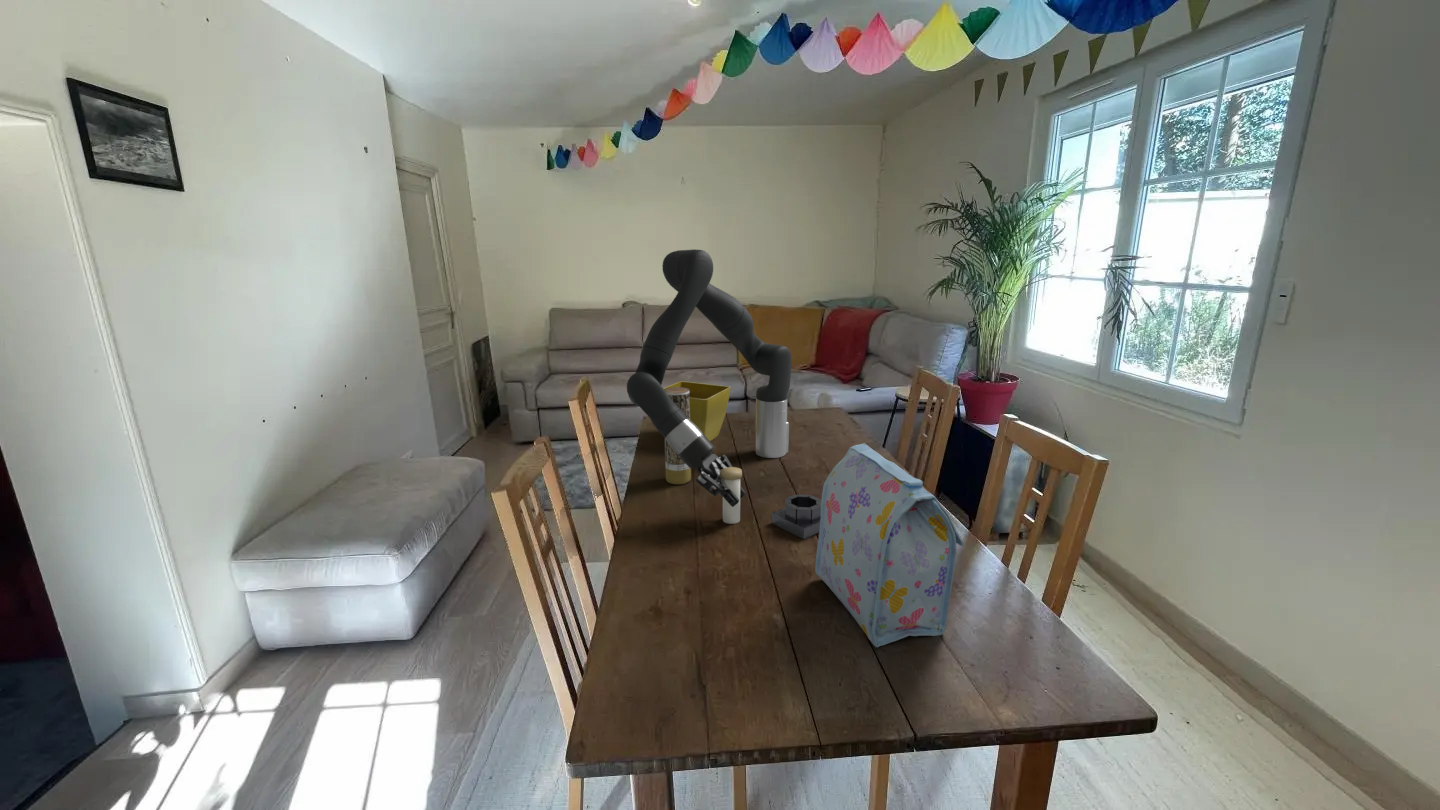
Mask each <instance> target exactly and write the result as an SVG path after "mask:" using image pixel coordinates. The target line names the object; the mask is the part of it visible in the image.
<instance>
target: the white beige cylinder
mask: <svg viewBox="0 0 1440 810" xmlns="http://www.w3.org/2000/svg"><path fill="white" fill-rule="evenodd" d="M721 475H722V477H723V479H724V482H725V484H726V485H727V487H728V489H730V490H731V491H732V492H733V493H734V494H735V496H736V497H737V498H738V499H739V502H738V503H737V504H736V505H735V506H734V507H732V506H731V505H730V504H729V503H728V502H727V501H726V500H725V498H724V497H723V496H722V521H723V523H725V524H729V525H730V524H731V525H733V524H738V523H740V521H741V499H740V486H741V479H742V477H743V469H742V468H740V467H736V466H733V467H727V468H723V469H722V470H721Z"/></svg>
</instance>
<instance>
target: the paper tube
mask: <svg viewBox="0 0 1440 810" xmlns="http://www.w3.org/2000/svg"><path fill="white" fill-rule="evenodd" d="M664 390H665V391H666V393H667V394H668V396H669V397H670V399H671V400H672V401H673V402H674V403H675V404H676V405H677V406H678V407H679V408H680V410H681V411H682V412H683V413H684V414H685V415H686V416H687V417H688V419H689V420H690V392H689V389H688V388H683V387H672V388H666V389H664ZM664 460H665V461H664V463H665V464H664V465H665V466H664V467H665V480H666V482H667V483H669V484H671V485H685V484H688V483H689V482H690V481H691V480H692V469H691V468H689V467H688V466H687V465H686V463H685V462H684V461H683V460H682V459H681V458H680V457H679V455H678V454H677V453H676V452H675V451H674V450H673V449H672V447H671V446H670V445H669V443H668V442H667V440H666V439H665V438H664Z"/></svg>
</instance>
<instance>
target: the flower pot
mask: <svg viewBox="0 0 1440 810" xmlns="http://www.w3.org/2000/svg"><path fill="white" fill-rule="evenodd" d="M672 387H683V388H688V389H689V392H690V421H692V422H693V423H694V424H695V425H696V426H697V427H698V428H699V429H700V430H701V432H702V433H703V434H704V435H705V436H706V437H707V438H708V440H709V441H710V442H711V441H713V440H714V439H716V438H717V437H718V436H719V434H720V432H721V428H722V427H723V422H724V420H725V417H726V413H727V409H728V405H729V401H730V394H731V390H732V388H731V386H728V385H727V386H726V385H720V384H719V385H718V384H712V383H702V382H693V381H685V380H684V381H683V380H682V381H677V382H676V383H672V384H670V385H667V386H666V387H663V389H666V388H672Z"/></svg>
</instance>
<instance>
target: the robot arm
mask: <svg viewBox="0 0 1440 810" xmlns="http://www.w3.org/2000/svg"><path fill="white" fill-rule="evenodd" d="M662 273H663V276H664V279H665V280H666V282H667V283H668V284H669V286H671V288H673V289H674V290H675V291H677V293H676V295H675V297H674V298H673V300H672V301H671V302H670V304H669V305H668V306H667V307H666V309H665V310H664V311H663V312H662V313H661V314H660V315H659V316H658V318H656V320H655V321H654V323H653V324H652V326H651V328H650V330H649V332H648V334H647V336H646V338H645V339H646V340H645V341H644V344H643V346H642V349H641V352H640V357H639V363H638V366H637V367H636V371H635V373H633V374H632V375H631V376H630V377H629V378H628V380H627V382H626V392H627V395H628V398H629V400H630V402H631V403H632V404H634V405H635V406H637V407H639V409H640V410H642V412H644V413H645V414H646V415H647V417H648V418H649V419H650V421H651V423H652V425H653V427H654V428H656V430H657V431H658V432H659V433H660V434H661V436H663V438H664V440H665V439H666V440H667V442H668V443H669V445H670V446H671V447H672V449H673V450H674V451H675V452H676V453H677V454H678V455H679V457H680V458H681V459H682V460H683V461H684V462H685V463H686V465H687V466H688V467H689V468H691V470H692V469H694V468H695V469H696V470H697V472H698V474H699V475H698V477H697V478H695V481H696V482H697V484H699V485H700V486H702V487H703V488H704V489H705V490H706V491H707V492H709V493H710V494H711V495H713V497H716V496H718V495H719V496H722V498H723V497H724V498H725V500H726V501H727V502H728V503H729V504H730V505H731V506H732V507H734V506H735V505H736V504H737V503H738V502H739V499H738V498H737V497H736V496H735V494H734V493H733V492H732V491H731V490H730V489H728V487H727V485H726V484H725V482H724V479H723V477H722V475H721V470H722V469H723V468H727V467H734V466H733V465H732V463H731V462H730V460H729V458H728V457H727V456H726V455H725V454H723V455H720V456H718V455H717V454H715V453H714V452H713V451H714V450H715V447H716V446H715V445H714V444H713V443H712V442H711V441H709V440H708V438H707V437H706V436H705V435H704V434H703V433H702V432H701V430H700V429H699V428H698V427H697V426H696V425H695V424H694V423H693V422H692V421H690V420H689V419H688V417H687V416H686V415H685V414H684V413H683V412H682V411H681V410H680V408H679V407H678V406H677V405H676V404H675V403H674V402H673V401H672V400H671V399H670V397H669V396H668V394H667V393H666V391H665V390H664V389H663V388H664V387H663V386H662V384H663V380H664V377H665V373H666V370H667V368H668V366H669V364H670V363H671V360H672V357H673V354H674V352H675V350H676V347H677V344H678V342H679V339H680V337H681V334H682V333H683V330H684V328H685V326H686V324H687V323H688V321H689V320H690V318H691V316H692V313H693V312H694V310H695V309H697V310H698V311H699V312H700V313H701V314H702V315H703V316H704V317H705V318H707V320H708V321H710V323H711V324H712V325H713V327H715V328H716V329H717V331H718V332H719V333H721V335H722V336H723V337H725V338H726V340H727V341H729V342H730V343H731V345H732V346H733V347H734V348H736V349H737V350H738V351H739V353H740V354H741V356H743V358H744V359H745V361H746V362H747V364H748V365H749V366H750V367H751V369H752V370H753V371H754V372H755V373H757V374H759V375H763V376H768V377H769V379H768V383H767V385H762V386H760V387H758V388H757V389H756V393H755V454H756V455H757V456H759V457H761V458H767V459H777V458H782V457H784V456H786V454H787V453H789V442H790V441H789V440H790V434H789V433H790V423H789V422H788V419H787V418H788V393H789V390H790V387H791V375H792V364H793V363H792V360H793V358H792V354H791V353H792V352H791V351H790V349H789V348H788V347H787V346H785V345H781V344H780V345H779V344H772V343H766V342H764V341H763V340H761V339H760V338H759V337H758V336H757V334H755V332H754V328H755V326H754V324H755V323H754V320H753V317H752V315H751V313H750V312H749V311H748V309H747V308H746V307H745V306H744V305H743V304H742V303H741V302H740V300H738V299H737V298H736V297H734V296H732V295H731V294H729V293H727V292H726V291H724V290H722V289H720V288H718V287H716V285H715V286H714V285H713V284H711V280H712V278H713V274H714V262H713V259H712V257H711V256H710V254H709V253H708V252H707V251H706V250H704V249H681V250H679V249H678V250H676V251H675V250H674V251H671V252H669V253H668V254H666V255H665V257H664V258H663V261H662ZM746 494H747V492H746V491H745V489H744V488H743V487H742V485H740V500H741V499H742V498H744V496H745V495H746Z"/></svg>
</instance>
